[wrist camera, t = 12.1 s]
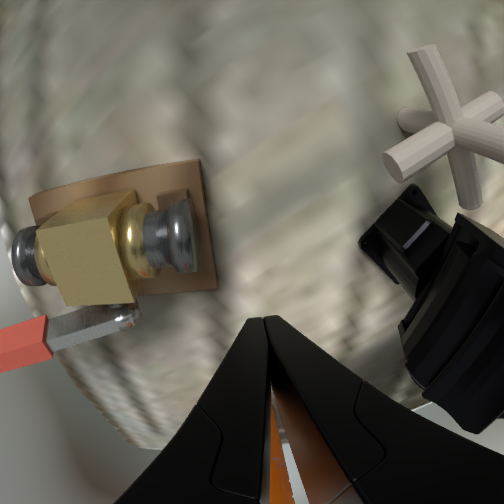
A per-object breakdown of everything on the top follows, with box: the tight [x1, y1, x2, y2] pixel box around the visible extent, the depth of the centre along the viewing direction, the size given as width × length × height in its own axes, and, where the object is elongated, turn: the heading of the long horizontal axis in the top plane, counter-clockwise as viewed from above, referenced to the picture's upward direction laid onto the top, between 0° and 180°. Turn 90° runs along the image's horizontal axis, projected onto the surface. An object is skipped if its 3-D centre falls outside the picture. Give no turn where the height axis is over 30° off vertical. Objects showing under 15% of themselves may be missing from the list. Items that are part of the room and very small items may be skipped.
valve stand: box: [12, 159, 217, 309], centre depth 16 cm, size 13×9×6 cm
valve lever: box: [0, 299, 142, 373], centre depth 16 cm, size 3×2×13 cm
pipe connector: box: [382, 44, 504, 210], centre depth 12 cm, size 10×10×10 cm
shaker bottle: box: [269, 405, 295, 504], centre depth 22 cm, size 9×9×20 cm
